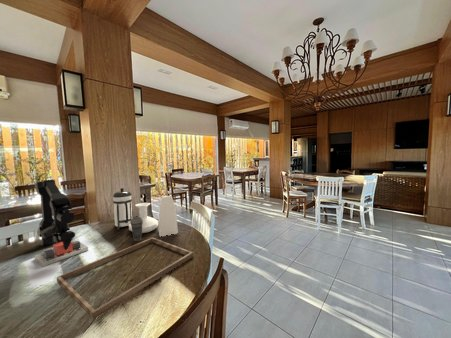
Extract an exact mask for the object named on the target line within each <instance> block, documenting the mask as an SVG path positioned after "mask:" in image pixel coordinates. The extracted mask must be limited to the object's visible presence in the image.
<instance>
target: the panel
mask: <svg viewBox="0 0 451 338" xmlns="http://www.w3.org/2000/svg"><path fill="white" fill-rule="evenodd" d="M52 250H53V249H52ZM87 251H89V247H88V246H87V245H86V244H84V243H83V242H80V247H79V248H76V249H73V250H72V251H69V252H66V253H63V254H60V255H57V254H55V253H54V256H52V257H49V258H45V257H44V252H42V253H39V254H36V255H34V260H35V261H36V263H38V264H39V266H41V267H42V268H43V267H47V266H48V265H52V264H54V263H56V262H59V261H62V260H65V259H68V258H70V257H73V256H76V255H79V254H81V253H84V252H87ZM53 252H54V250H53Z"/></svg>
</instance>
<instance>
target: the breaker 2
mask: <svg viewBox="0 0 451 338" xmlns="http://www.w3.org/2000/svg"><path fill="white" fill-rule="evenodd" d="M71 242H72V245H73V249H76V248H79V247H80V243H81V241H80V240H75V241H71Z"/></svg>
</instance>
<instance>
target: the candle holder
mask: <svg viewBox="0 0 451 338" xmlns="http://www.w3.org/2000/svg"><path fill="white" fill-rule="evenodd" d="M150 205H151V202H140V203H136V204H135V207H137V208H138V212H139V214H138V216H139V217H141V218H142V221H143V223H142V234H145V233H149V232H151V231H154V230H155V229H157V227H158V226H159V219H158V220H157V219H156V218H155V217H151V216H148V207H149V206H150ZM128 230H129V231H131V232H132V226H131V223H130V224H129V225H128Z"/></svg>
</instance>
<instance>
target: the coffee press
mask: <svg viewBox="0 0 451 338" xmlns="http://www.w3.org/2000/svg"><path fill="white" fill-rule="evenodd" d="M112 198H113V199H112V202H113V203H112V204H113V215H114V218H113V220H114V224H113V226H114V227H116V230H117V231H119V230H120V229H121V228H123V227H127V226H128V227H129V224H130V223H131V220H132V218H133V210H132V207H133V205H132V201H133V200H132V193H131V191H129V190H124V188H123V187H121V188H120V190H119V191H115V192H114V193H113V195H112Z"/></svg>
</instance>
